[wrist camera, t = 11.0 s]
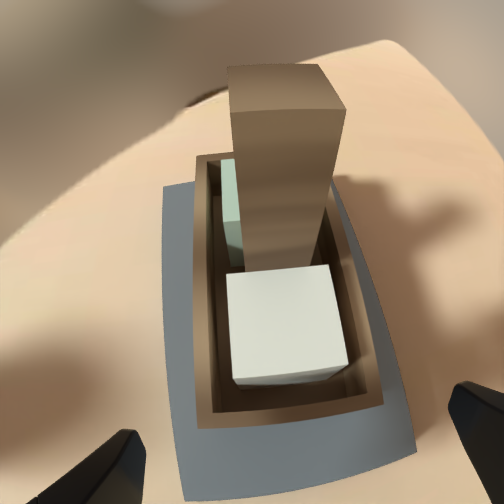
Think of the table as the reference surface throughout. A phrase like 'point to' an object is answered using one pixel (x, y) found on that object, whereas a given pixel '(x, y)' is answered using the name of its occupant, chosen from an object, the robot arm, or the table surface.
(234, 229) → the sage block
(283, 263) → the caddy
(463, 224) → the table surface
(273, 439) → the dock
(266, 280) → the cream block
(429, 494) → the table surface
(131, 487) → the robot arm
